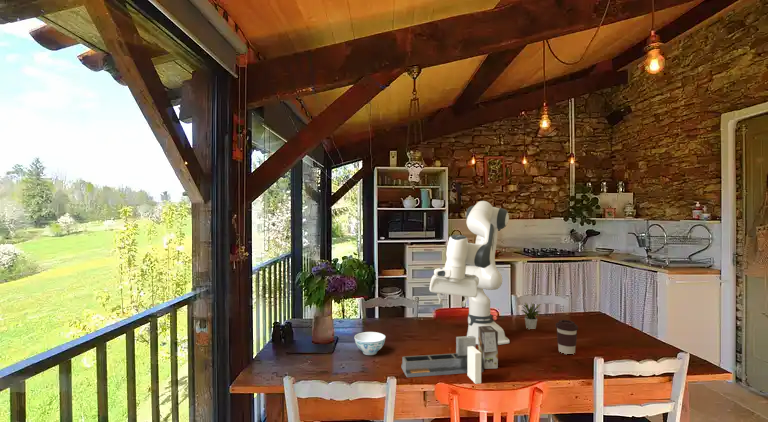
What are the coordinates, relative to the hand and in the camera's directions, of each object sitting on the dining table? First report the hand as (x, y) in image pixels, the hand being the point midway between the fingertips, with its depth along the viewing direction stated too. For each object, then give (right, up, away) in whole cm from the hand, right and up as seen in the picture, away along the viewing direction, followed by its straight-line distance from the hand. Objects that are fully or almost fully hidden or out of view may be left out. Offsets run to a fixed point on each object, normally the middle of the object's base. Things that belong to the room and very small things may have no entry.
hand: (451, 304), depth 162 cm
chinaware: (-36, -29, +22) cm, 51 cm away
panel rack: (-4, -28, +2) cm, 29 cm away
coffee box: (+17, -29, +7) cm, 35 cm away
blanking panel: (+8, -29, -7) cm, 30 cm away
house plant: (+57, -29, +62) cm, 89 cm away
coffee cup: (+60, -29, +23) cm, 71 cm away
